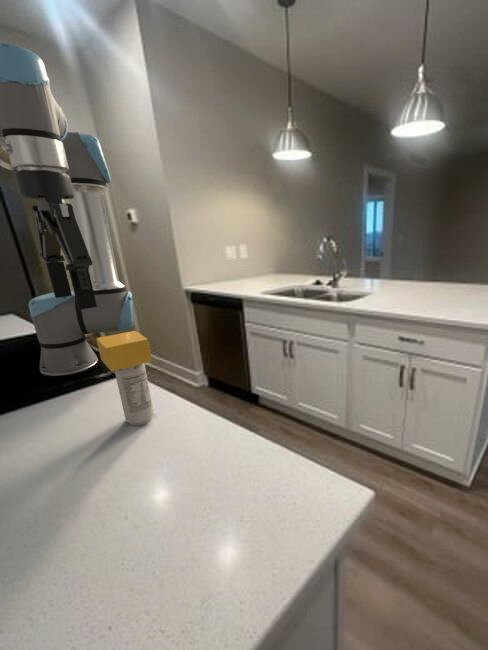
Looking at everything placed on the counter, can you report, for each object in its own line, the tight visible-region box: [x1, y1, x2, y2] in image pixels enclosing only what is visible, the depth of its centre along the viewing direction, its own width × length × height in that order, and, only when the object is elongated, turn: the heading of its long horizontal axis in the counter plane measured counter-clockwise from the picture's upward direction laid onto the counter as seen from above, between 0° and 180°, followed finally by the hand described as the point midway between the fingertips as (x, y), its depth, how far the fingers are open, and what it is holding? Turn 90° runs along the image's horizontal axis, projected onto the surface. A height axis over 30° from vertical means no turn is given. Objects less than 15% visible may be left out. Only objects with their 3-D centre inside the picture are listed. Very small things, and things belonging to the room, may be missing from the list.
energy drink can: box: [114, 363, 155, 426], centre depth 77 cm, size 6×6×15 cm
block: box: [96, 330, 153, 372], centre depth 73 cm, size 8×8×5 cm
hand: (75, 302), depth 63 cm, fingers open, 13 cm apart
